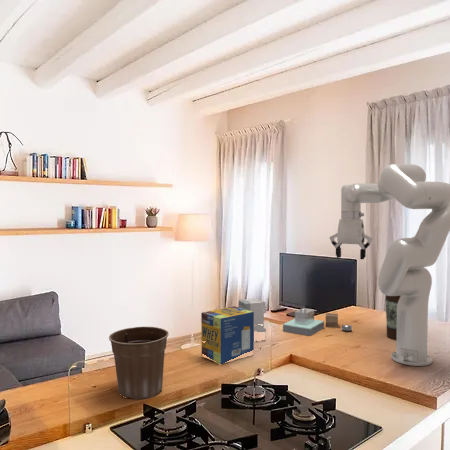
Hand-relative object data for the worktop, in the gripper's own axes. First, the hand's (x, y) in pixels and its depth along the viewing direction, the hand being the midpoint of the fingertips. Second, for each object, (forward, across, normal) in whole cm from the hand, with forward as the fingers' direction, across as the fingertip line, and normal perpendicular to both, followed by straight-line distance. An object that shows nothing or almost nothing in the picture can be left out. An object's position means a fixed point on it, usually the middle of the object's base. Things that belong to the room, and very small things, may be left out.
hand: (350, 258), depth 183 cm
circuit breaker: (+31, +30, +32) cm, 53 cm away
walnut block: (+30, +10, -6) cm, 33 cm away
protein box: (+31, +25, +51) cm, 65 cm away
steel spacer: (+30, +2, -2) cm, 30 cm away
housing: (+27, +17, +6) cm, 33 cm away
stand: (+30, +18, +6) cm, 36 cm away
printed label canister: (+31, -18, -5) cm, 36 cm away
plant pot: (+31, +29, +89) cm, 98 cm away
